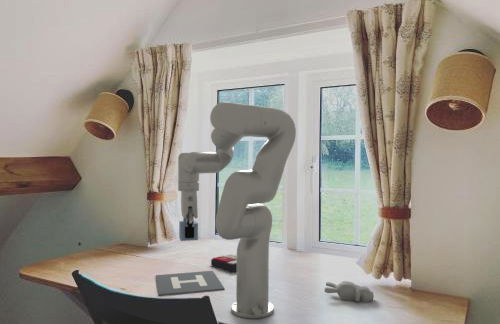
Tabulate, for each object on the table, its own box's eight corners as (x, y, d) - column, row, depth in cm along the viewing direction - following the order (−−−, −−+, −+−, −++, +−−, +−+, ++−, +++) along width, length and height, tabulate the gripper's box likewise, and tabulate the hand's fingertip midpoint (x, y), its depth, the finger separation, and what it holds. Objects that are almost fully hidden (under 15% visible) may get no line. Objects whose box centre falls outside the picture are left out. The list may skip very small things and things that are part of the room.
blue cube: (197, 240, 135) (197, 223, 135) (180, 240, 133) (181, 224, 133) (195, 236, 141) (195, 220, 141) (179, 237, 139) (179, 221, 139)
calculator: (230, 253, 167) (253, 258, 156) (231, 263, 167) (253, 268, 156) (210, 257, 160) (232, 262, 149) (210, 267, 160) (233, 273, 149)
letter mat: (224, 289, 129) (224, 288, 129) (158, 296, 123) (158, 294, 123) (212, 271, 150) (212, 270, 150) (156, 276, 144) (156, 275, 144)
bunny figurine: (374, 293, 114) (325, 283, 119) (372, 310, 115) (323, 299, 119) (373, 284, 124) (327, 274, 128) (371, 299, 124) (325, 289, 128)
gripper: (202, 188, 130) (202, 240, 130) (195, 185, 146) (195, 231, 146) (180, 188, 127) (180, 241, 128) (175, 185, 144) (175, 232, 144)
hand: (188, 235), depth 137 cm, fingers closed on blue cube, 6 cm apart
